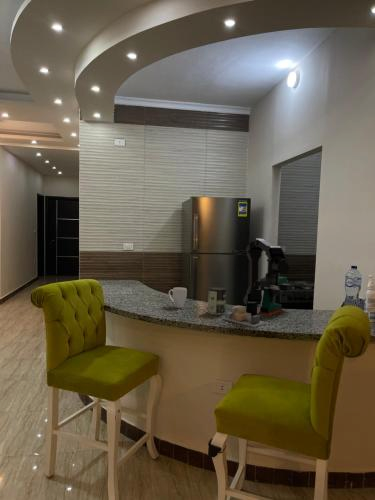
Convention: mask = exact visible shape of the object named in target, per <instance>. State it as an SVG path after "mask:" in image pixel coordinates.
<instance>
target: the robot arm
mask: <svg viewBox="0 0 375 500" xmlns="http://www.w3.org/2000/svg"><path fill="white" fill-rule="evenodd" d="M245 252H246V256H247V258H248V260H249V286H248V288H247V289H246V294H245V296H244V298H243V304H245V313H250V314H251V316H255V315H259V316H260V314H259V312H258V305H262V299H263V294H262V290H261V289H260V285H261V287H264V289H265V290H266V291H267V293H268V295H269V298H270V302H274V300H275V301H276V299H275V298H277V294H278V295H279V293H278V292H280V291H284V292H288V291H293V286H292V284H291V283H287V284H280V282H279V277H281V275H286V274H287V273H288V271H289V269H290V268H289V267H290V266H289V263H287V262H286V256H285V253H284V250H283V248H282V247H281V246H280V245H274V244H272V243H270V242H268V241H267V240H265V239H264V238H255V239H253V241H251V242H249V244H247V246H246V248H245ZM263 252H265V256H266V257H267V259H266V262H267V272H266V273H265V276H264V277H262V278H260V279H259V261H260V259H261V257H262V254H263ZM274 285H275V286H274ZM272 287H273V288H272Z"/></svg>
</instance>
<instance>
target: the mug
mask: <svg viewBox="0 0 375 500" xmlns="http://www.w3.org/2000/svg"><path fill="white" fill-rule="evenodd" d="M187 289H188V288H186V287H179V286H178V287H173V289H170V290H169V291H168V297H169V299H170V300H171V301H172V303H174V306H175V308H177V309H183V307H184V305H185V303H186V300H187V294H188V292H187V291H188V290H187ZM171 292H172V295H171Z"/></svg>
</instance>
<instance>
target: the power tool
mask: <svg viewBox="0 0 375 500" xmlns="http://www.w3.org/2000/svg"><path fill="white" fill-rule="evenodd" d="M288 281H289V280H288V277H287V276H279V282H280V284H288ZM274 286H275V285H274ZM272 288H273V287H272ZM259 289H261V291H263V294H262V300H261V304H260V307H259V311H258V314H259V315H264V316H271V315H273V314H274V315H275V314H278V313H280V312H283V311H282V310H284V308H283V307H282V305H283V304H282V303H281V304H280V303H277V302H276V298H277V296H279V292H280V291H279V292H278V294H277V296H276V298H275V300H274V302H270V298H269V295H268V293H267V291H266V290H265V289H264V287H261V285H260V286H259Z"/></svg>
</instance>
